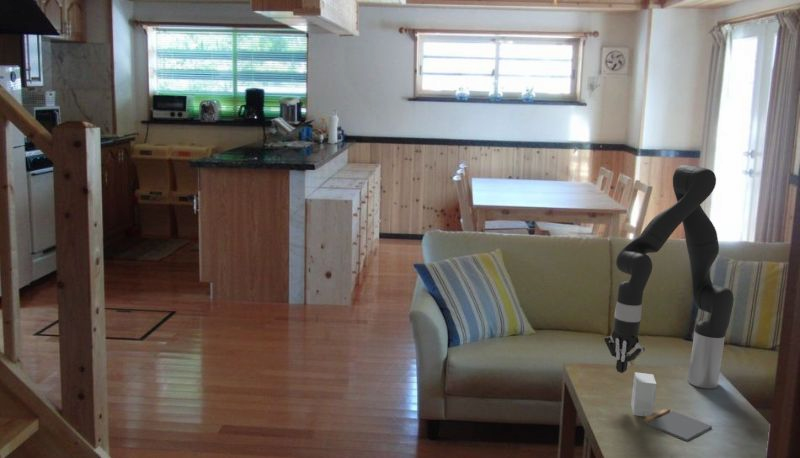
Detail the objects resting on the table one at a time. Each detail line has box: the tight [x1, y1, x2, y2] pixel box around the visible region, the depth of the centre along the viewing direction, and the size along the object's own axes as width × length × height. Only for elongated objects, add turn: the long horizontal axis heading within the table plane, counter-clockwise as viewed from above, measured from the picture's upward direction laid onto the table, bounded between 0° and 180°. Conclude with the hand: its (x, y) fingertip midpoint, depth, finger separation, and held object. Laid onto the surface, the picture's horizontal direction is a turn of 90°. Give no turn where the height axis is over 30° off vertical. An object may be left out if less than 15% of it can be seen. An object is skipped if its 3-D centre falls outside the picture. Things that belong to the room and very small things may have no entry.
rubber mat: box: [647, 410, 713, 442], centre depth 218 cm, size 14×12×1 cm
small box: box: [630, 371, 658, 418], centre depth 225 cm, size 8×6×10 cm
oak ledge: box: [644, 407, 671, 424], centre depth 223 cm, size 12×1×1 cm, turn 132°
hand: (620, 371), depth 231 cm, fingers closed
